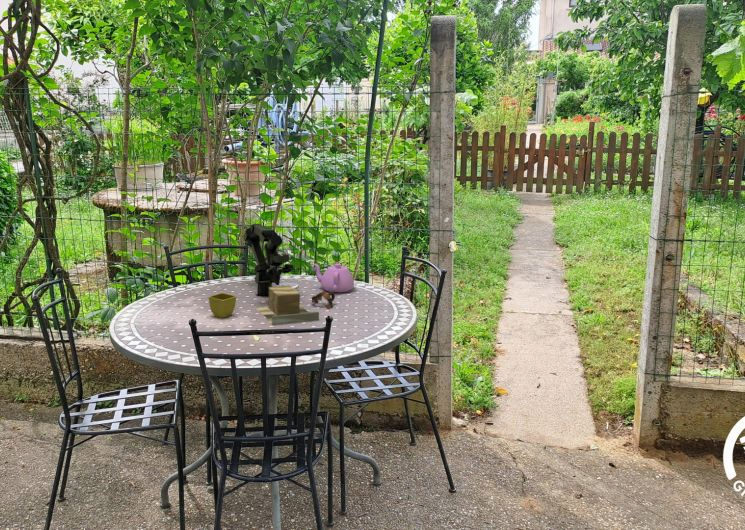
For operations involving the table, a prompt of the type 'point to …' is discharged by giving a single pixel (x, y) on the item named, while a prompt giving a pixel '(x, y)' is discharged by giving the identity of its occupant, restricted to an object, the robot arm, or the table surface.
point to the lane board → (288, 316)
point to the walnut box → (284, 300)
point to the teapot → (335, 278)
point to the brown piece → (326, 296)
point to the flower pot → (222, 304)
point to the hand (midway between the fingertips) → (277, 285)
